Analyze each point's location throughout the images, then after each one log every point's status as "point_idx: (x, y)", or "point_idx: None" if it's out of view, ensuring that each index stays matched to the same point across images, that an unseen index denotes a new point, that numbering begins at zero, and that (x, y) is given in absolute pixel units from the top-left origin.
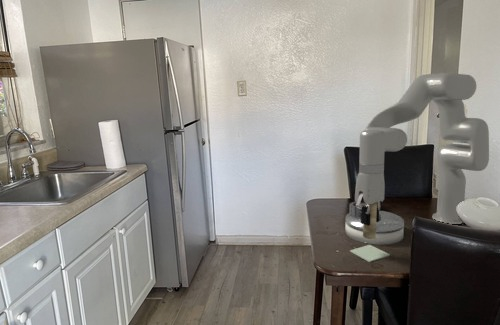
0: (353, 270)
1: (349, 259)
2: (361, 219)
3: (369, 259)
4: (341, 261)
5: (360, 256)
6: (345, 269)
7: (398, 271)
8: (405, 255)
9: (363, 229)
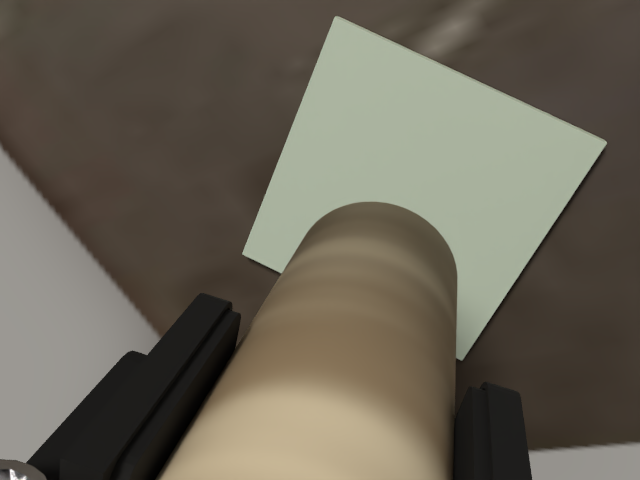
0: (54, 191)
1: (184, 89)
2: (169, 338)
3: (268, 246)
4: (106, 43)
5: (279, 160)
6: (24, 134)
7: None
8: (534, 450)
9: (298, 259)
